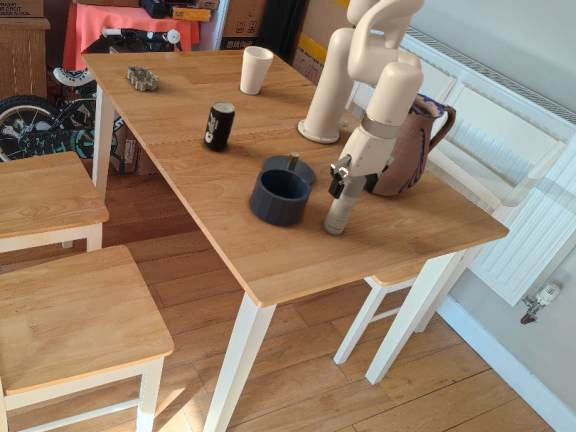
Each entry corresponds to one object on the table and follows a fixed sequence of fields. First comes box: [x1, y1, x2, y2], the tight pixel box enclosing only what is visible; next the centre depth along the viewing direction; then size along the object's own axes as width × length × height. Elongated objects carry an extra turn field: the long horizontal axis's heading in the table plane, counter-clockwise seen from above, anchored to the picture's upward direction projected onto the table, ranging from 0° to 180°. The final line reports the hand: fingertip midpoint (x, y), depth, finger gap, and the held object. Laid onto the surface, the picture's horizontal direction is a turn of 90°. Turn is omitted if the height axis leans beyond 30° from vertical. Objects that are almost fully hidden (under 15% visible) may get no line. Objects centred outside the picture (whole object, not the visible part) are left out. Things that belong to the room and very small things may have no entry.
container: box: [322, 175, 366, 236], centre depth 116 cm, size 5×5×15 cm
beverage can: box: [203, 100, 236, 152], centre depth 136 cm, size 7×7×12 cm
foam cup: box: [239, 45, 274, 96], centre depth 166 cm, size 10×9×13 cm
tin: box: [249, 167, 312, 227], centre depth 121 cm, size 13×13×8 cm
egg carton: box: [127, 65, 160, 92], centre depth 160 cm, size 11×8×4 cm
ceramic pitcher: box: [363, 92, 457, 197], centre depth 131 cm, size 18×21×25 cm
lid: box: [263, 151, 316, 186], centre depth 134 cm, size 14×14×6 cm
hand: (350, 192), depth 114 cm, fingers open, 9 cm apart
